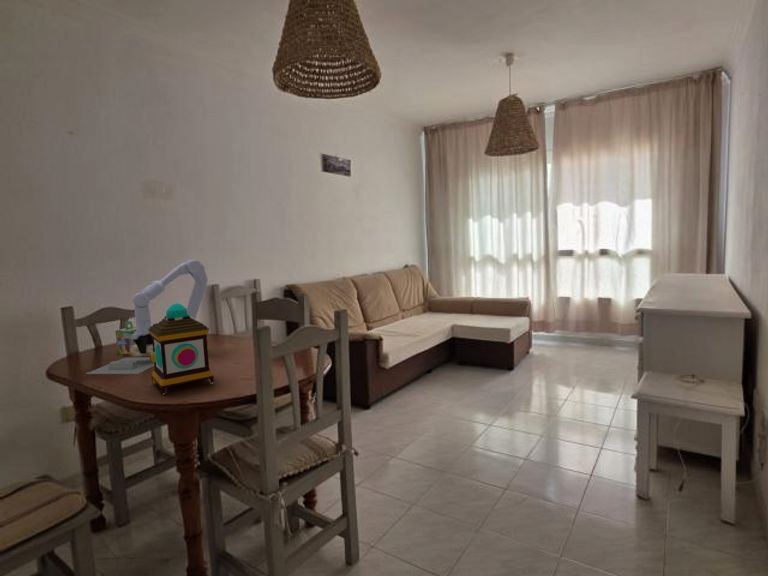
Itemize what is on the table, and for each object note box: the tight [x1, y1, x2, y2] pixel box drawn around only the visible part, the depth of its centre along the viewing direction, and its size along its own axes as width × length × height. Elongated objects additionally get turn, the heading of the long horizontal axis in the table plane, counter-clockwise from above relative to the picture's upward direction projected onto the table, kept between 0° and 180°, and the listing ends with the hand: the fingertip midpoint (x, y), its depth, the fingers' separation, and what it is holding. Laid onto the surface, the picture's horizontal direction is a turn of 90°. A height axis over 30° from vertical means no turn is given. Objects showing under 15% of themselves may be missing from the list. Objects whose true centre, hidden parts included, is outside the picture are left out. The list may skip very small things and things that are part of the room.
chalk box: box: [115, 320, 137, 356], centre depth 213 cm, size 9×9×15 cm
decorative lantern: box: [148, 302, 215, 395], centre depth 162 cm, size 20×20×30 cm
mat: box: [85, 356, 154, 375], centre depth 190 cm, size 22×24×1 cm
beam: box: [129, 344, 153, 357], centre depth 194 cm, size 12×4×4 cm, turn 85°
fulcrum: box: [109, 360, 138, 370], centre depth 185 cm, size 10×4×3 cm, turn 85°
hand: (146, 351), depth 194 cm, fingers closed on beam, 4 cm apart
